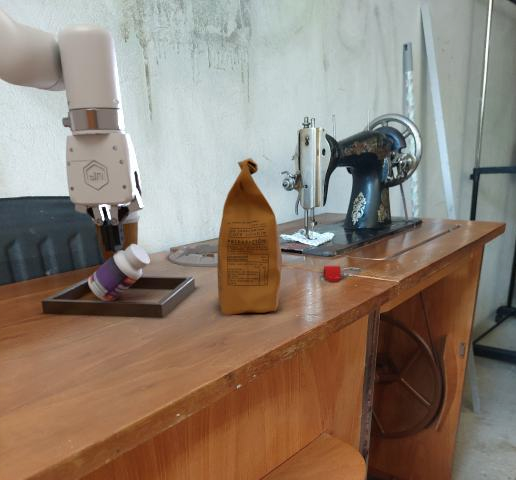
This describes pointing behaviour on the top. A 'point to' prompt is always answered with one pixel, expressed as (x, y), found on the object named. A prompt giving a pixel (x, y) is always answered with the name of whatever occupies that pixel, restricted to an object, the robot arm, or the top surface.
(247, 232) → the coffee package
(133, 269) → the pill bottle
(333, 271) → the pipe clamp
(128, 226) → the disposable coffee cup
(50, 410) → the top surface
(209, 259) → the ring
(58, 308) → the walnut frame
